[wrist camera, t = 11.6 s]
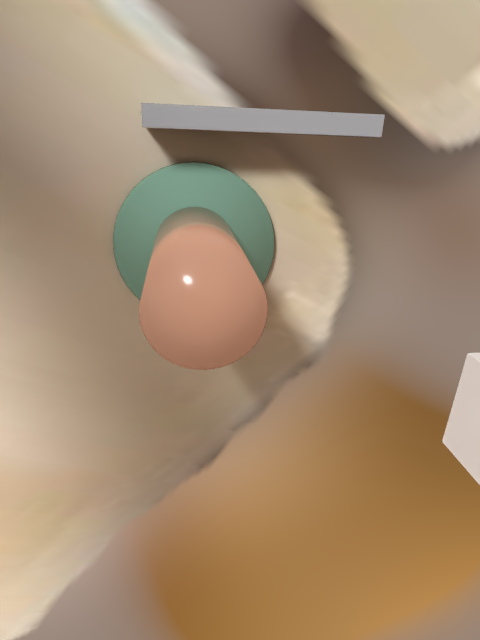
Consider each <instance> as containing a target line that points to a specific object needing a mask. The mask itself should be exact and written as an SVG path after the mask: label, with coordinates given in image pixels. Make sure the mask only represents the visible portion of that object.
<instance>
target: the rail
mask: <svg viewBox="0 0 480 640" xmlns="http://www.w3.org/2000/svg"><path fill="white" fill-rule="evenodd" d="M141 107H142V127H144V128H155V129H180V130H204V131H228V132H253V133H277V134H302V135H303V134H304V135H326V136H352V137H381V136H382V130H383V122H384V117H385V115H377V114H359V113H336V112H318V111H297V110H276V109H256V108H236V107H215V106H195V105H174V104H154V103H141Z"/></svg>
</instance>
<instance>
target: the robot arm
mask: <svg viewBox="0 0 480 640" xmlns="http://www.w3.org/2000/svg"><path fill="white" fill-rule="evenodd" d="M442 442H443V443H444V444H445V445H446V446H447V448H448V449H449V450H450V451H451V452H452V454H454V456H455V457H456V458H457V459H458V460H459V462H460V463H461V464H462V465H463V466H464V467H465V468H466V470H467V471H468V472H469V473H470V474H471V476H472V477H473V478H474V479H475V480H476V481H477V482H478V484H479V485H480V353H468V354H467V357H466V361H465V364H464V368H463V371H462V375H461V378H460V382H459V385H458V389H457V392H456V395H455V399H454V403H453V406H452V410H451V413H450V416H449V420H448V423H447V427H446V430H445V434H444V437H443V441H442Z"/></svg>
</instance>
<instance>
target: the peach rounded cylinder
mask: <svg viewBox="0 0 480 640" xmlns="http://www.w3.org/2000/svg"><path fill="white" fill-rule="evenodd" d="M267 313H268V309H267V298H266V294H265V291H264V288H263V286H262V284H261V282H260V280H259V278H258V277H257V275H256V273H255V271H254V270H253V268H252V266H251V264H250V262H249V261H248V259H247V257H246V255H245V253H244V252H243V250H242V248H241V246H240V245H239V243H238V241H237V239H236V237H235V236H234V234H233V232H232V230H231V228H230V227H229V225H228V224H227V222H226V221H225V220H224V219H223V218H222V217H221V216H220V215H218V214H217V213H215V212H213V211H211V210H209V209H206V208H202V207H187V208H183V209H180V210H177V211H175V212H174V213H172V214H171V215H169V216H168V217H167V218H166V219H165V220H164V221H163V222H162V224H161V225H160V227H159V229H158V231H157V234H156V237H155V242H154V246H153V250H152V254H151V258H150V262H149V266H148V270H147V275H146V279H145V283H144V287H143V291H142V295H141V300H140V306H139V316H140V323H141V327H142V330H143V332H144V335H145V337H146V339H147V340H148V342H149V343H150V345H151V346H152V347H153V348H154V350H155V351H156V352H158V353H159V354H160V355H161V356H162V357H164V358H165V359H166V360H168V361H170V362H172V363H174V364H176V365H179V366H182V367H185V368H190V369H199V370H206V369H214V368H219V367H223V366H226V365H228V364H231V363H233V362H235V361H236V360H238V359H240V358H241V357H243V356H244V355H245V354H246V353H248V352H249V351H250V350H251V349H252V348H253V346H254V345H255V344H256V343H257V341H258V340H259V338H260V336H261V335H262V332H263V330H264V327H265V324H266V320H267Z"/></svg>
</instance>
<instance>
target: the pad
mask: <svg viewBox="0 0 480 640" xmlns="http://www.w3.org/2000/svg"><path fill="white" fill-rule="evenodd" d="M187 207H202V208H206V209H209V210H211V211H213V212H215V213H217V214H218V215H220V216H221V217H222V218H223V219H224V220H225V221H226V222H227V224H228V225H229V227H230V228H231V230H232V232H233V234H234V236H235V237H236V239H237V241H238V243H239V245H240V246H241V248H242V250H243V252H244V253H245V255H246V257H247V259H248V261H249V262H250V264H251V266H252V268H253V270H254V271H255V273H256V275H257V277H258V278H259V280H260V282H261V284H263V282H264V280H265V279H266V277H267V274H268V272H269V269H270V267H271V263H272V259H273V253H274V232H273V226H272V223H271V219H270V216H269V214H268V211H267V209H266V207H265V205H264V203H263V202H262V200H261V198H260V197H259V196H258V194H257V193H256V192H255V190H254V189H253V188H252V187H251V186H249V185H248V184H247V183H246V182H245V181H244V180H242V179H241V178H240V177H238V176H237V175H235V174H233V173H232V172H230V171H228V170H226V169H223V168H221V167H218V166H215V165H211V164H206V163H197V162H191V163H180V164H174V165H171V166H168V167H165V168H162V169H160V170H158V171H156V172H154V173H152V174H150V175H149V176H148V177H146V178H145V179H143V180H142V181H141V182H140V183H139V184H138V185H137V186H136V187H135V188H134V189H133V190H132V191H131V193H130V194H129V195H128V196H127V198H126V199H125V201H124V203H123V204H122V206H121V209H120V211H119V213H118V216H117V219H116V223H115V228H114V236H113V245H114V254H115V259H116V263H117V266H118V269H119V271H120V273H121V276H122V278H123V280H124V281H125V283H126V284H127V286H128V287H129V289H130V290H131V291H132V292H133V294H134V295H135V296H136V297H137V298H138V299H139V300H141V295H142V291H143V287H144V283H145V279H146V275H147V270H148V266H149V262H150V258H151V254H152V250H153V246H154V242H155V237H156V234H157V231H158V229H159V227H160V225H161V224H162V222H163V221H164V220H165V219H166V218H167V217H168V216H169V215H171V214H172V213H174V212H175V211H177V210H180V209H183V208H187Z"/></svg>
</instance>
